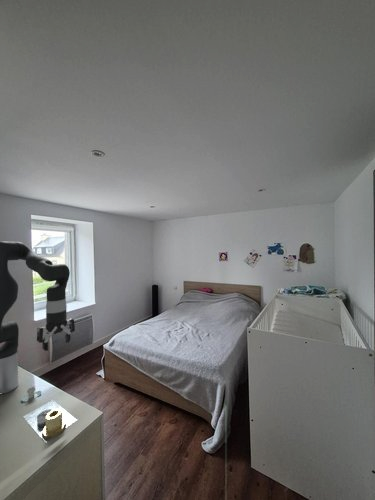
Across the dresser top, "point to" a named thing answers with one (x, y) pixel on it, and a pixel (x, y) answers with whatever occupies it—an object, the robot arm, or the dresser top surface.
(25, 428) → the dresser top surface
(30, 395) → the pacifier
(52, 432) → the brass octagonal tube
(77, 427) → the dresser top surface
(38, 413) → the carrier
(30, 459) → the dresser top surface
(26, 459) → the dresser top surface
